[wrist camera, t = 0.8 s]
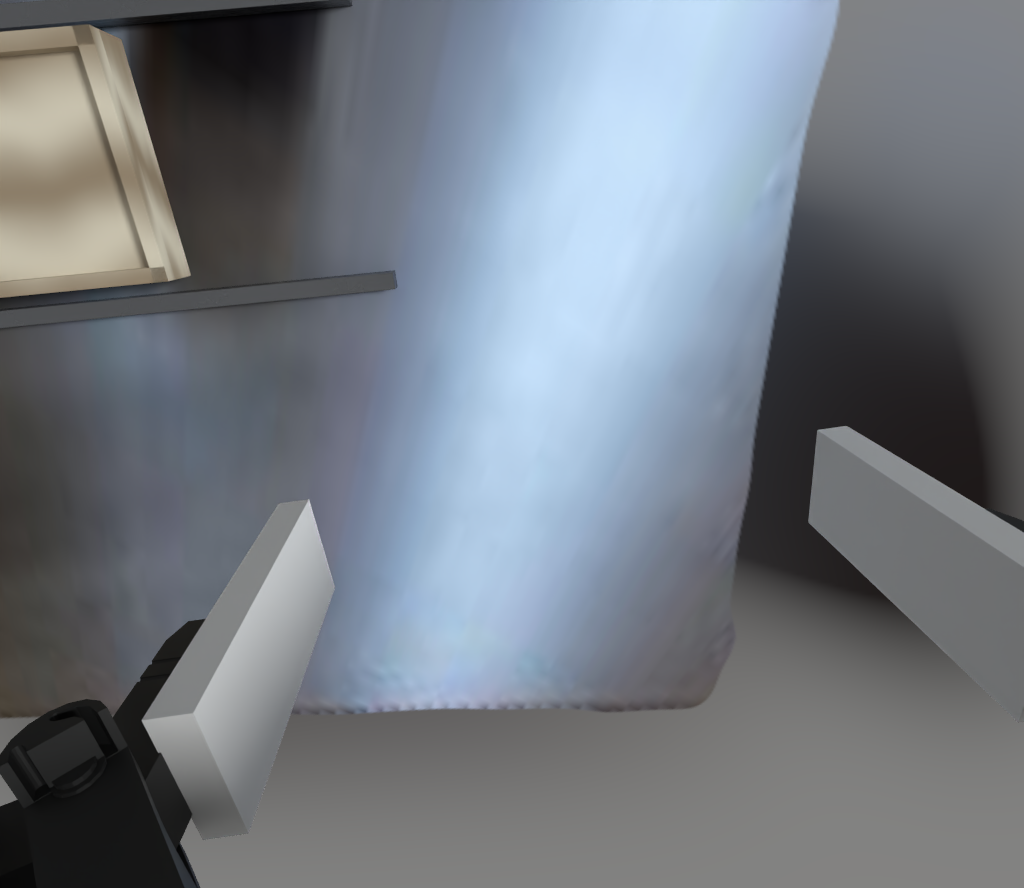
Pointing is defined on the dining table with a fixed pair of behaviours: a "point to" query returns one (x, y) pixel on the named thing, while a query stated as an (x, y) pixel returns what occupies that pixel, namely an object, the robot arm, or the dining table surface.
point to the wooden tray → (78, 169)
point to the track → (141, 3)
